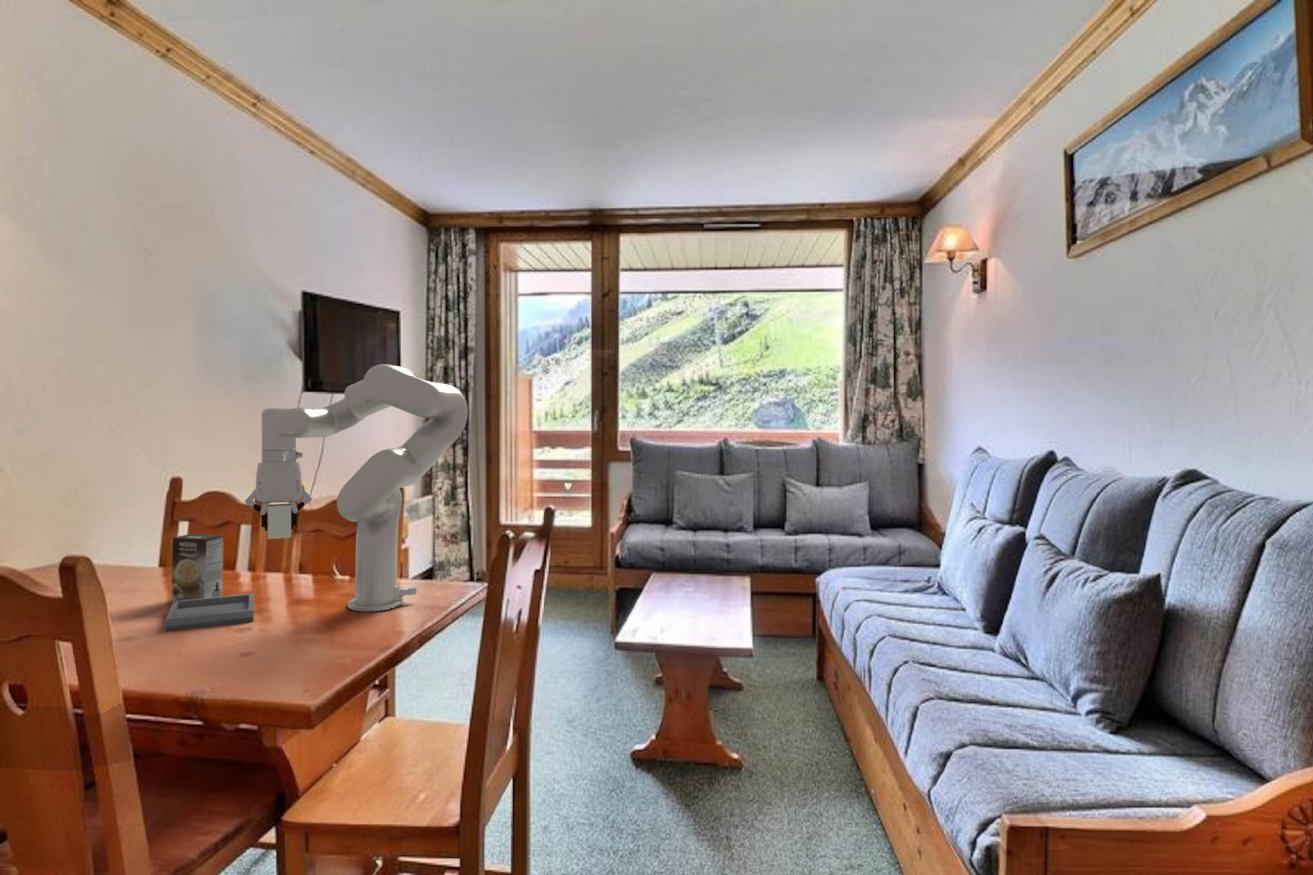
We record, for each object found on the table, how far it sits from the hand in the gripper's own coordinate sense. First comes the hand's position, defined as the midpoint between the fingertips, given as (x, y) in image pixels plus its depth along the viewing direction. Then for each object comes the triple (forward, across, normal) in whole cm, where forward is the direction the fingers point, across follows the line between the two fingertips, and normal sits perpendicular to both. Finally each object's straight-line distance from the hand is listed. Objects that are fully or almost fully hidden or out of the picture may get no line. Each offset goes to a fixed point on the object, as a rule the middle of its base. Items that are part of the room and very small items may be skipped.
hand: (279, 528), depth 167 cm
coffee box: (+18, +18, -7) cm, 26 cm away
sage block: (+2, 0, 0) cm, 2 cm away
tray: (+18, +14, +10) cm, 24 cm away
